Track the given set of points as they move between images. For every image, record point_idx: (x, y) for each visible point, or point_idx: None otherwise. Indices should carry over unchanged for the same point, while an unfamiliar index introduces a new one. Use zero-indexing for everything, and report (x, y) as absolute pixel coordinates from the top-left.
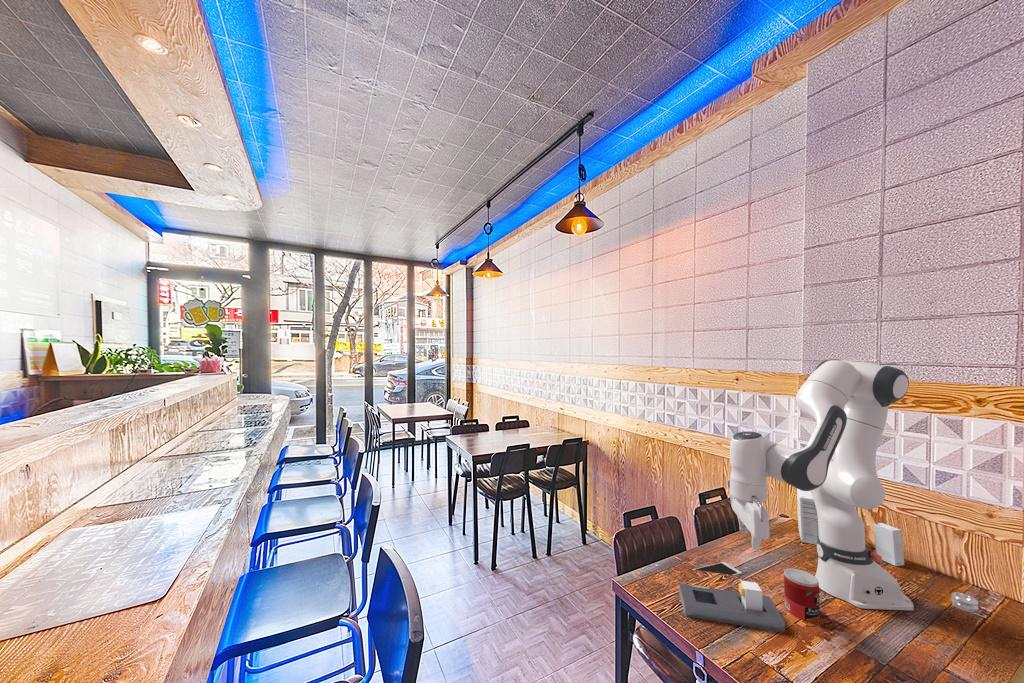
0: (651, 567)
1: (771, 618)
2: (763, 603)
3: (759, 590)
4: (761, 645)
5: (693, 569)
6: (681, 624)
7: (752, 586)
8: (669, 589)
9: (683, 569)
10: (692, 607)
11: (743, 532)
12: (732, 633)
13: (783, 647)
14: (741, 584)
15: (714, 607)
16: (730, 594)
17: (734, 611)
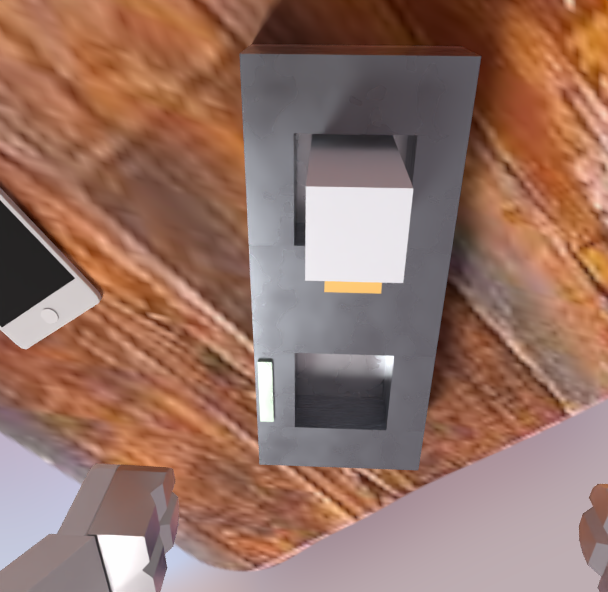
0: (76, 479)
1: (469, 129)
2: (331, 122)
3: (405, 202)
4: (538, 191)
5: (8, 333)
6: (441, 440)
7: (363, 231)
8: (222, 443)
9: (24, 369)
10: (421, 443)
11: (172, 512)
12: (470, 285)
13: (547, 92)
14: (332, 279)
15: (418, 373)
16: (284, 275)
17: (435, 298)
